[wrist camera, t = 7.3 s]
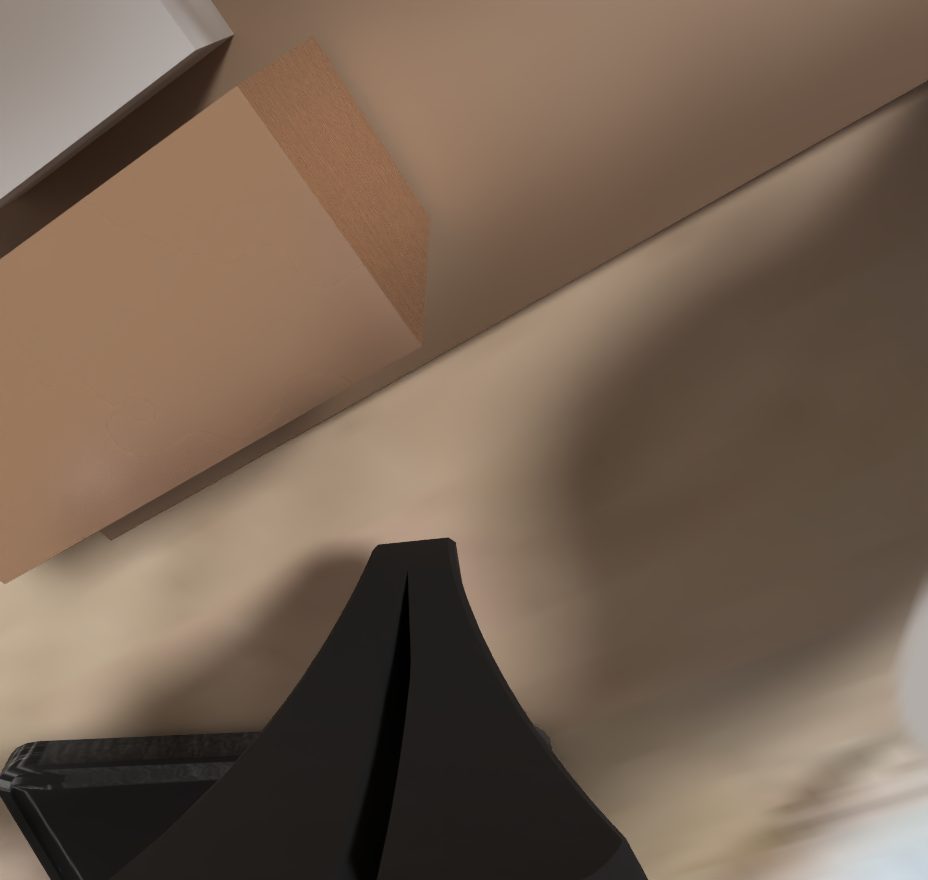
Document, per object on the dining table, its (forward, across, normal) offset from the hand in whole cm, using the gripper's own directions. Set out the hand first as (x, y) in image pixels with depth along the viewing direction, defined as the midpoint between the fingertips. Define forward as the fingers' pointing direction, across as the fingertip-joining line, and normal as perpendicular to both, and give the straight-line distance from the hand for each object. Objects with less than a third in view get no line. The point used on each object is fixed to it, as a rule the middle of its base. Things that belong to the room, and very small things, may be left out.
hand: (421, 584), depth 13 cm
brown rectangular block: (+2, +3, -6) cm, 7 cm away
